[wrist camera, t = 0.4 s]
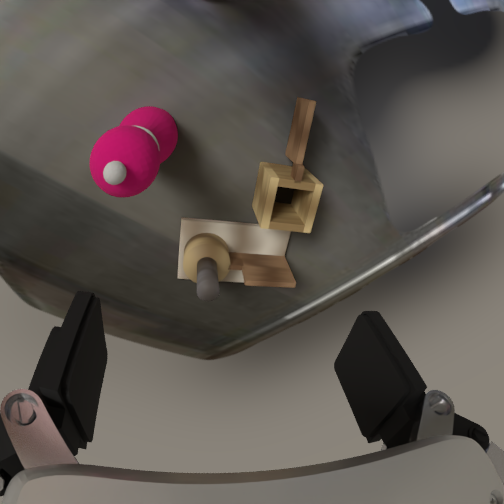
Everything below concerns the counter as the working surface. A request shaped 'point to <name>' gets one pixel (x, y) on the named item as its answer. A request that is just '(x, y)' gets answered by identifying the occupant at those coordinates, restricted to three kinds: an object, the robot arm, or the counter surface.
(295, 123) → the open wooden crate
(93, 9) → the counter surface
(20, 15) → the counter surface
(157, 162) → the pepper mill
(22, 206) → the counter surface
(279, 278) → the hinge base
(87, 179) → the counter surface
